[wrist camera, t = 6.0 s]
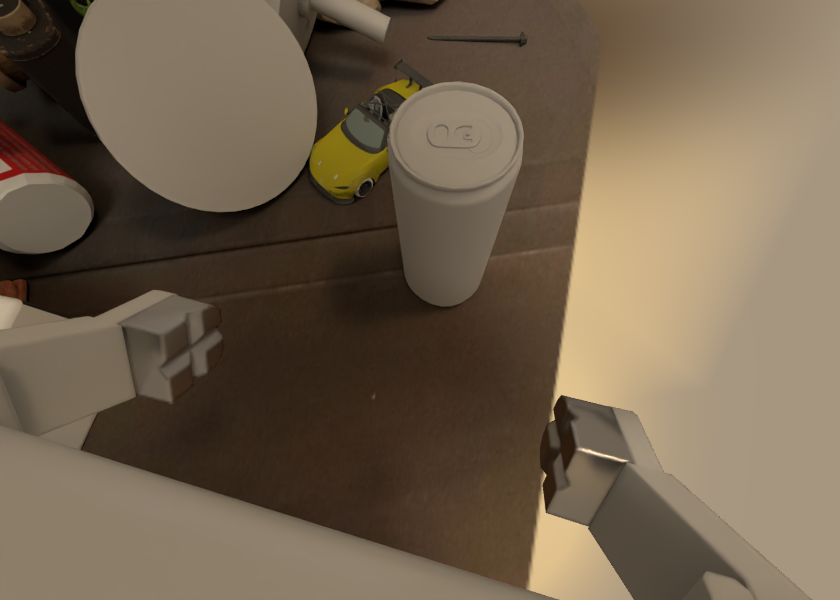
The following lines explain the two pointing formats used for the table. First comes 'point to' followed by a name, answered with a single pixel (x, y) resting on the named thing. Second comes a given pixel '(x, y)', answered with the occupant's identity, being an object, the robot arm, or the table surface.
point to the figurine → (372, 2)
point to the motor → (299, 11)
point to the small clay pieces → (14, 289)
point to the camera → (42, 50)
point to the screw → (482, 38)
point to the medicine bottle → (21, 313)
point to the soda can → (37, 200)
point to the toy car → (361, 142)
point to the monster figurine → (198, 97)
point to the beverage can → (451, 184)
